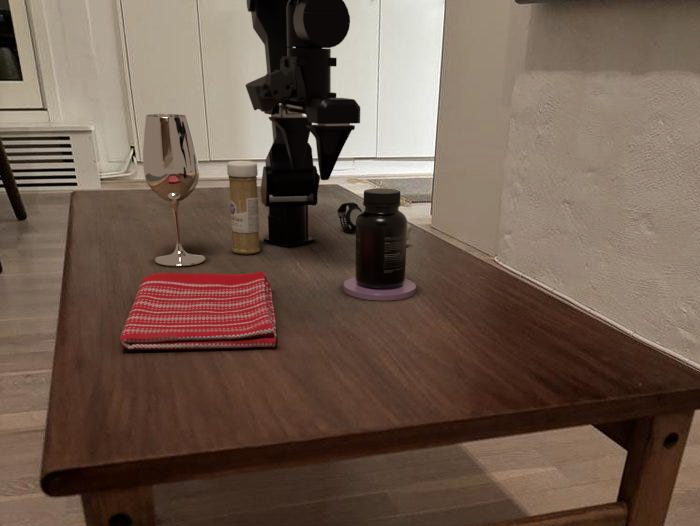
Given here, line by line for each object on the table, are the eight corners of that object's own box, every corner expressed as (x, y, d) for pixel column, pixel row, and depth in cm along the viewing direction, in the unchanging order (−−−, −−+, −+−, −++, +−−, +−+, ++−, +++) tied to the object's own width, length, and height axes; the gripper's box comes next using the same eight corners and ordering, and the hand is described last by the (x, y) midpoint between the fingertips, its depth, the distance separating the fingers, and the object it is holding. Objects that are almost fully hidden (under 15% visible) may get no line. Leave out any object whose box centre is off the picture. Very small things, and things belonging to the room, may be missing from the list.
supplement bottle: (403, 277, 104) (408, 187, 98) (405, 290, 98) (410, 195, 92) (354, 276, 104) (356, 185, 98) (354, 289, 98) (356, 194, 92)
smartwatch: (343, 235, 131) (344, 205, 129) (336, 229, 136) (336, 200, 133) (365, 234, 132) (366, 205, 130) (357, 228, 137) (358, 200, 134)
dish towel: (270, 289, 101) (269, 269, 99) (280, 349, 80) (279, 326, 79) (141, 291, 98) (139, 271, 97) (118, 354, 78) (114, 330, 77)
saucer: (373, 276, 108) (373, 270, 107) (430, 289, 102) (430, 283, 102) (328, 290, 101) (328, 283, 100) (386, 305, 95) (386, 298, 95)
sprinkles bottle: (226, 251, 118) (220, 161, 112) (247, 247, 121) (243, 159, 115) (245, 256, 116) (240, 164, 109) (266, 252, 119) (263, 162, 112)
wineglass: (194, 268, 109) (181, 118, 99) (145, 265, 110) (127, 116, 100) (213, 256, 115) (203, 114, 105) (167, 253, 117) (152, 112, 107)
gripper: (226, 46, 100) (233, 169, 108) (280, 47, 86) (284, 188, 94) (300, 48, 105) (302, 166, 113) (363, 49, 91) (360, 183, 99)
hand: (310, 175), depth 105 cm, fingers open, 9 cm apart
